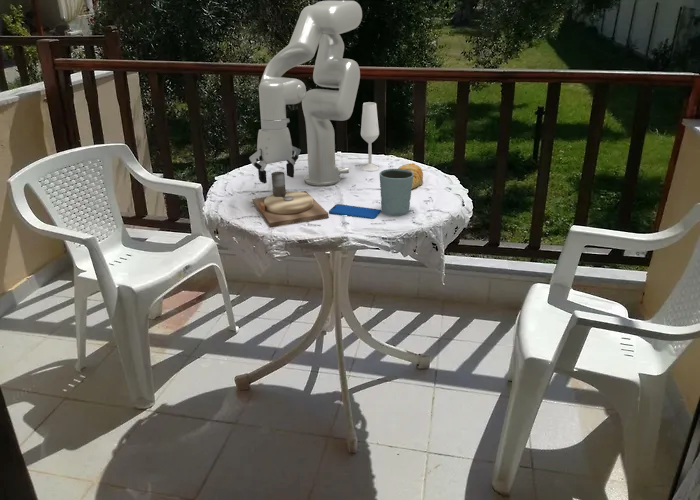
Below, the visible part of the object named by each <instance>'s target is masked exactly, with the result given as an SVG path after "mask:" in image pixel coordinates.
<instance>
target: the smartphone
mask: <svg viewBox="0 0 700 500" xmlns="http://www.w3.org/2000/svg"><path fill="white" fill-rule="evenodd" d="M381 212H382V210H381V209H379V208H378V209H377V208H371V207H370V208H369V207H363V206H357V205H347V204H340V203H337V204H334V206H333V207H331V208H330V209H329V210H328V215H329V214H330V215H333V216H334V215H335V216H342V215H347V216H346V217H350V216H352V218H359V219H368V220H369V219H370V220H375V219H376V218H377V217H378V216H379V215H380V214H381Z"/></svg>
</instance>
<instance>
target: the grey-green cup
mask: <svg viewBox="0 0 700 500" xmlns="http://www.w3.org/2000/svg"><path fill="white" fill-rule="evenodd" d="M378 174H379V185H380V186H379V187H380V206H381V207H380V210H381V212H382V214H384V215H387V216H393V217H397V216H398V217H399V216H404V215H407V214H408V213H409V212H410V204H411V197H412V190H413V189H412V182H413V176H414V174H413V172H411V171H409V170H405V169H398V168H388V169H382V170H381V171H380V172H379V173H378Z"/></svg>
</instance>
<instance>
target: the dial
mask: <svg viewBox="0 0 700 500" xmlns="http://www.w3.org/2000/svg"><path fill="white" fill-rule="evenodd" d="M285 178H286V177H285V172H284V171H274V172H271V184H272V185H271V187H272V194H270V195H268V196H265V197H266V198H265V200H264V205H265V209H266V210H268V211H270V212H273V213H278V214H293V213H299V212H303V211H306V210H308V209H310V208H311V207H312V206H313V199H314V197H313V196H312V194H310V193H308V192H307V193H308V194H307V193H304V192H302V191H296V190H295V191H293V190H292V191H291V190H289V191H287V190H286V179H285Z"/></svg>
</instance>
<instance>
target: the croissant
mask: <svg viewBox="0 0 700 500" xmlns="http://www.w3.org/2000/svg"><path fill="white" fill-rule="evenodd" d="M397 169H405V170H409V171H411V172H413V174H414V176H413V182H412V189H411V190H413V189H415V188H417V187H419V186H422V184H423V177H424V172H423V169H422V168H421V167H420V166H419V165H418V164H415V163H407V164H402V165H401V166H398V168H397Z"/></svg>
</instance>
